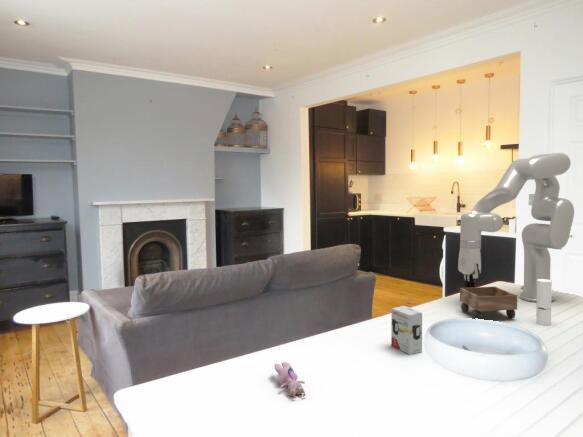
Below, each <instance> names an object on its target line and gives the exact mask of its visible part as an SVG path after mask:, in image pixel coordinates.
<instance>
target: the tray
mask: <svg viewBox="0 0 583 437" xmlns="http://www.w3.org/2000/svg"><path fill="white" fill-rule="evenodd" d="M459 302H461V305H460V307H461V308H460V309H461V311H462V312H463V313H468V312H469V311H470V308H472V309H473V310H472V311H473V312H472V315H473V318H474V319H475V318H478V319H480V320H482V316H483V315H482V312H492V311H493V312H500V311H505V312H506V316H507V317H508V319H514V318H515V317H516V310H518V295H517V294H514V293H512V292H510V291H507V290H505V289H502V288H499V287H497V286H480V287H479V286H476V287H472V288H465V287H459Z"/></svg>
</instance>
